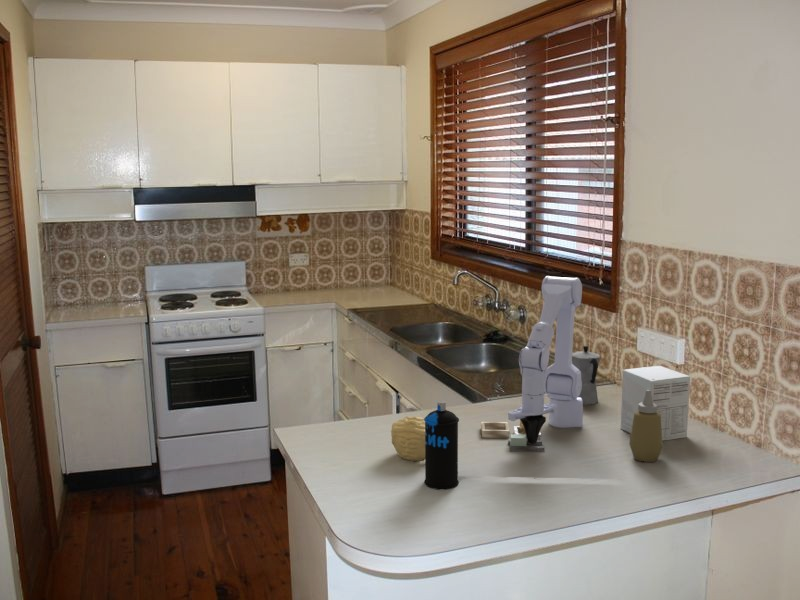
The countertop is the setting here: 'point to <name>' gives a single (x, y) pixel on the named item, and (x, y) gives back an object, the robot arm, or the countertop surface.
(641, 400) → the supplement box
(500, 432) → the ash socket frame
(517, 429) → the steel socket
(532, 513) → the countertop surface
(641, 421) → the squeeze bottle
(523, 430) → the brass cylinder plug
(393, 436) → the sculpture
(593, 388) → the coffeepot
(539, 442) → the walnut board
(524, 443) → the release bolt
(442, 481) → the aerosol can
